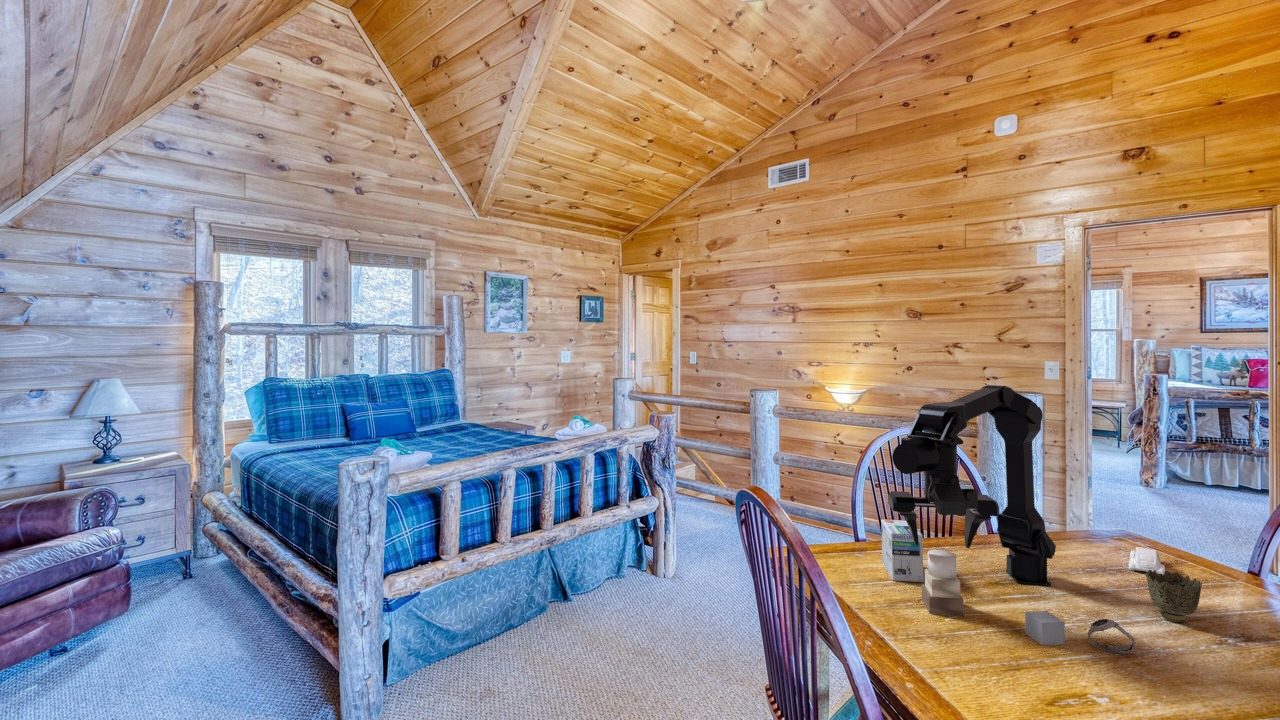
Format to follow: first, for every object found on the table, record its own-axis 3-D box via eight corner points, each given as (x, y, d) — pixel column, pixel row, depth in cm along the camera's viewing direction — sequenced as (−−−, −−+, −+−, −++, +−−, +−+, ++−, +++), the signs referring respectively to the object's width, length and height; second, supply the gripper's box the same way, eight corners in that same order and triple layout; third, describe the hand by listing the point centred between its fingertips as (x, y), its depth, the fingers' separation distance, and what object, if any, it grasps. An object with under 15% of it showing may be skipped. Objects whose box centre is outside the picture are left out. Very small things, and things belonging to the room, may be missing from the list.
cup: (1186, 613, 105) (1186, 571, 104) (1212, 632, 98) (1212, 587, 97) (1138, 607, 107) (1137, 567, 107) (1159, 626, 100) (1159, 582, 100)
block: (1047, 632, 99) (1046, 610, 99) (1064, 644, 95) (1064, 621, 95) (1025, 633, 99) (1025, 611, 99) (1042, 645, 95) (1041, 622, 95)
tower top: (952, 587, 111) (951, 570, 110) (960, 598, 106) (960, 580, 106) (925, 585, 112) (924, 568, 112) (932, 596, 107) (931, 579, 107)
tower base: (953, 603, 111) (953, 586, 111) (963, 617, 105) (963, 599, 105) (921, 600, 113) (921, 584, 113) (929, 614, 107) (929, 596, 107)
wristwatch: (1087, 640, 96) (1087, 612, 96) (1135, 651, 92) (1134, 622, 92) (1087, 648, 93) (1087, 620, 93) (1136, 661, 89) (1136, 631, 89)
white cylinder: (952, 570, 111) (951, 550, 111) (959, 580, 106) (959, 560, 106) (925, 568, 112) (924, 548, 112) (931, 578, 107) (931, 558, 107)
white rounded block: (1166, 580, 120) (1166, 559, 119) (1128, 573, 124) (1128, 552, 124) (1162, 563, 129) (1162, 543, 129) (1127, 557, 133) (1126, 538, 133)
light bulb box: (924, 583, 121) (923, 534, 120) (892, 581, 122) (891, 533, 122) (910, 564, 131) (910, 519, 131) (880, 562, 132) (880, 518, 132)
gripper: (898, 475, 103) (899, 558, 103) (1010, 479, 98) (1011, 565, 99) (886, 463, 114) (888, 538, 114) (987, 466, 109) (988, 543, 110)
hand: (941, 546), depth 109 cm, fingers open, 9 cm apart
